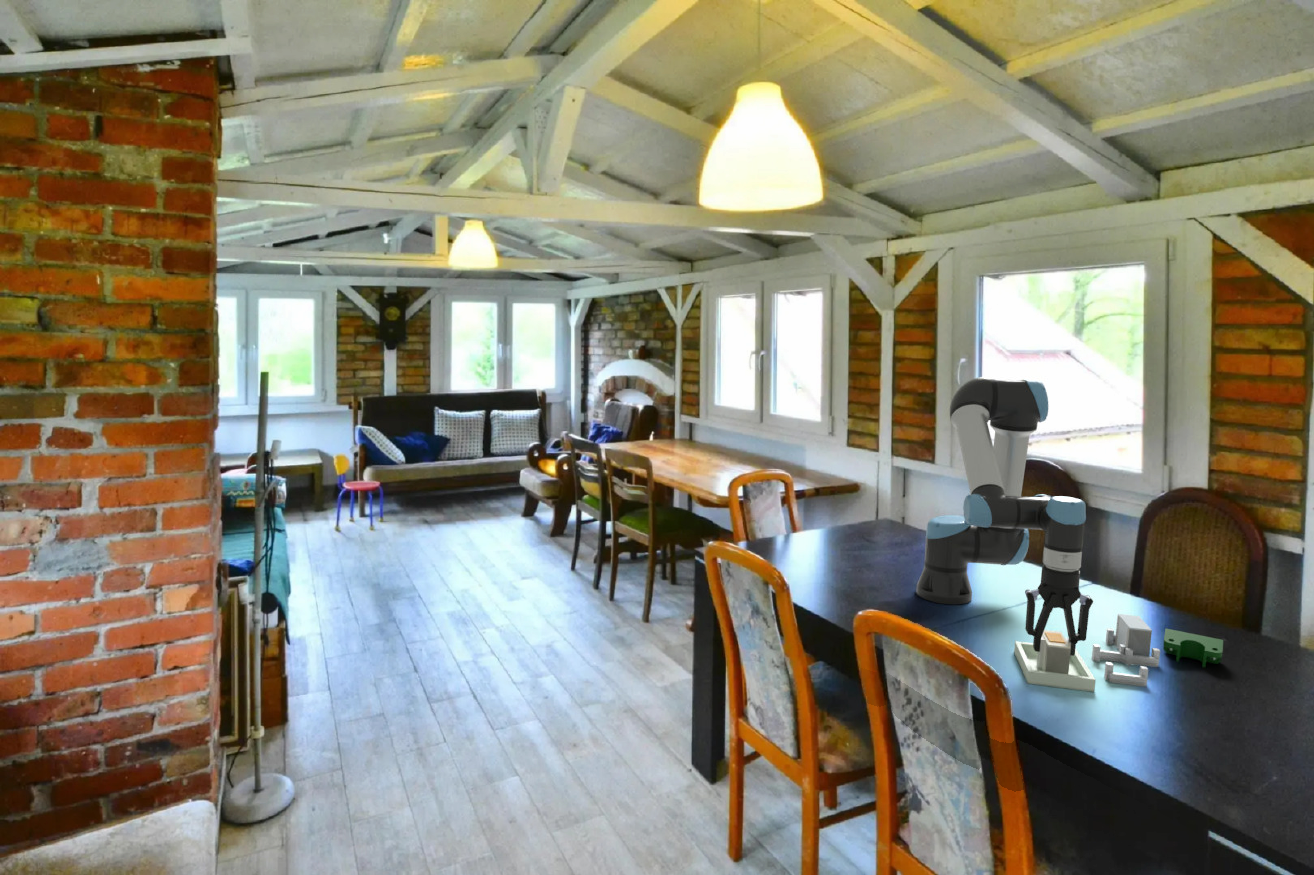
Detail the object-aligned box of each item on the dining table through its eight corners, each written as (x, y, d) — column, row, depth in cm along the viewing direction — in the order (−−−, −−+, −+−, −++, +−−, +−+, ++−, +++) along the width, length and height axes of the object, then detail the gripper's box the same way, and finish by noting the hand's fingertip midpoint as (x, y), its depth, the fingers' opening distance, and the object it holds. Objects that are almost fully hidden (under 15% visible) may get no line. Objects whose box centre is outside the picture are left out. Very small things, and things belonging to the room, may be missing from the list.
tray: (1027, 683, 164) (1028, 671, 163) (1014, 652, 180) (1015, 641, 179) (1094, 692, 160) (1095, 679, 160) (1074, 659, 176) (1075, 648, 176)
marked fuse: (1045, 674, 166) (1047, 643, 165) (1036, 657, 175) (1039, 628, 174) (1068, 677, 165) (1071, 646, 164) (1058, 660, 174) (1061, 630, 173)
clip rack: (1107, 682, 165) (1108, 666, 164) (1077, 637, 189) (1079, 623, 189) (1180, 691, 161) (1181, 675, 160) (1140, 644, 185) (1141, 630, 185)
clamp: (1170, 676, 178) (1154, 642, 178) (1172, 662, 183) (1157, 629, 182) (1230, 672, 170) (1214, 637, 169) (1231, 657, 174) (1215, 623, 174)
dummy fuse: (1126, 660, 176) (1129, 627, 175) (1114, 645, 185) (1117, 614, 184) (1148, 662, 175) (1152, 629, 174) (1135, 647, 184) (1139, 616, 183)
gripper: (1021, 567, 165) (1012, 668, 169) (1110, 576, 161) (1100, 679, 164) (1015, 558, 173) (1007, 654, 176) (1100, 565, 168) (1091, 664, 171)
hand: (1052, 666), depth 170 cm, fingers closed on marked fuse, 4 cm apart
